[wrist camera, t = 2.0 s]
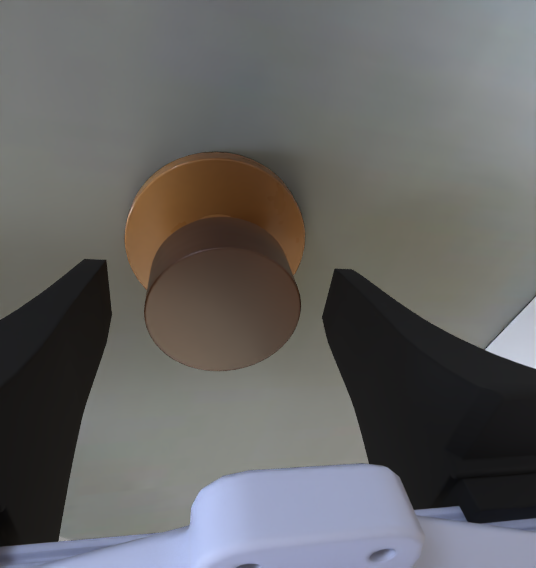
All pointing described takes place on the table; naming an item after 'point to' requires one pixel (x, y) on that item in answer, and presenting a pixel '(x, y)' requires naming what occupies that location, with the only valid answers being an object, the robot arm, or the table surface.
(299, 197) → the table surface
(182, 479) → the table surface
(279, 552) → the robot arm
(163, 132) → the table surface
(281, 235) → the wooden peg base
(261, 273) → the brown short cylinder
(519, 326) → the framed art
